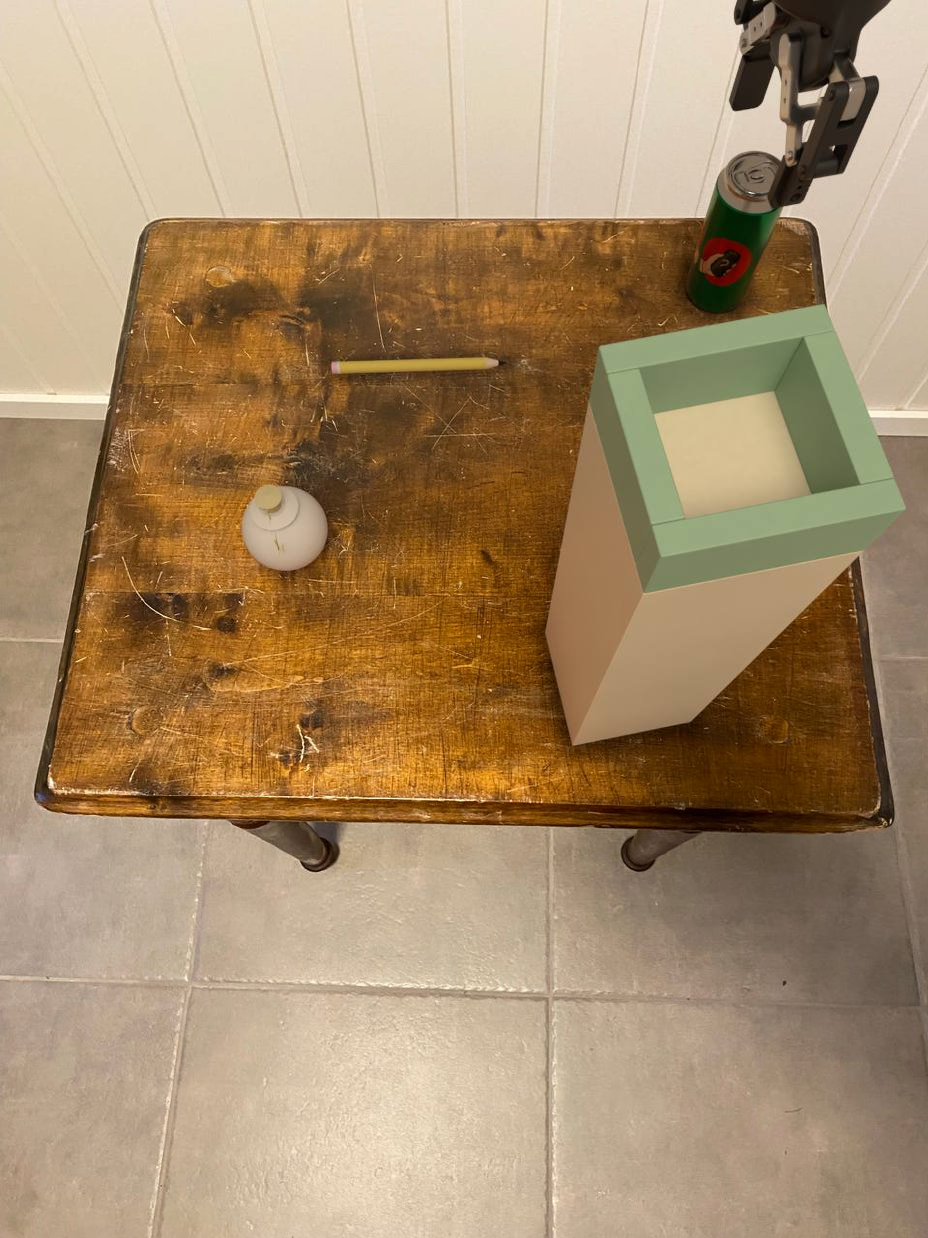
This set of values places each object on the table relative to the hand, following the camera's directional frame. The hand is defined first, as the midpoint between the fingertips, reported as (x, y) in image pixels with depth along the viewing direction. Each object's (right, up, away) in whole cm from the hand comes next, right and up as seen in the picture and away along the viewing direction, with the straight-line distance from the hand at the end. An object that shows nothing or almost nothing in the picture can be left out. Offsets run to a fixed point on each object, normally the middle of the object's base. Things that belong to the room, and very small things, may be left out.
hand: (762, 152), depth 59 cm
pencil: (-24, -11, +12) cm, 29 cm away
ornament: (-33, -26, +7) cm, 43 cm away
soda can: (+1, -4, +13) cm, 14 cm away
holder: (-9, -35, +3) cm, 37 cm away
